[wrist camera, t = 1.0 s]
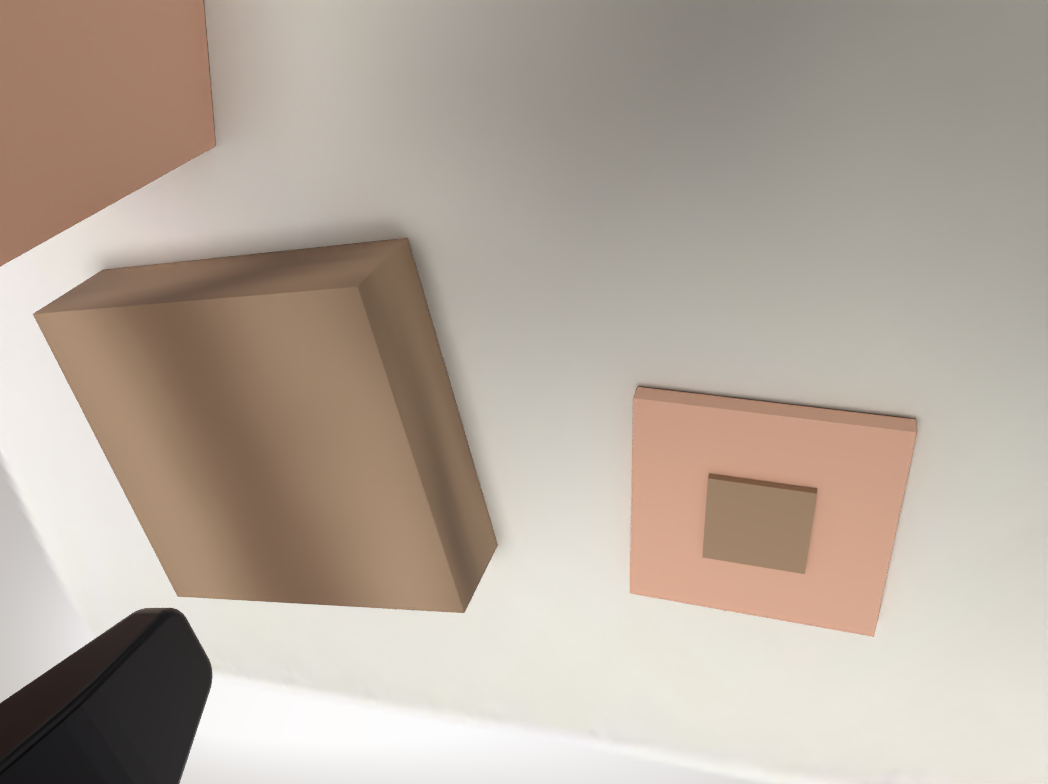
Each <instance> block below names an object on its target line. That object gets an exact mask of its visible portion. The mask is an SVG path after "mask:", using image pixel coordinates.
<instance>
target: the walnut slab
mask: <svg viewBox="0 0 1048 784" xmlns="http://www.w3.org/2000/svg"><path fill="white" fill-rule="evenodd" d="M33 315H34V317H35V319H36V321H37V323H38V325H39V327H40V329H41V331H42V333H43V335H44V337H45V339H46V341H47V343H48V345H49V346H50V348H51V350H52V352H53V354H54V356H55V358H56V360H57V362H58V364H59V366H60V368H61V370H62V372H63V374H64V376H65V378H66V380H67V382H68V384H69V385H70V387H71V389H72V391H73V393H74V395H75V397H76V399H77V401H78V403H79V405H80V407H81V409H82V411H83V413H84V415H85V417H86V419H87V421H88V423H89V424H90V426H91V428H92V430H93V432H94V434H95V436H96V438H97V440H98V442H99V444H100V446H101V448H102V450H103V452H104V454H105V456H106V458H107V460H108V462H109V464H110V465H111V467H112V469H113V471H114V473H115V475H116V477H117V479H118V481H119V483H120V485H121V487H122V489H123V491H124V493H125V495H126V497H127V499H128V501H129V503H130V504H131V506H132V508H133V510H134V512H135V514H136V516H137V518H138V520H139V522H140V524H141V526H142V528H143V530H144V532H145V534H146V536H147V538H148V540H149V542H150V543H151V545H152V547H153V549H154V551H155V553H156V555H157V557H158V559H159V561H160V563H161V565H162V567H163V569H164V571H165V573H166V575H167V577H168V579H169V581H170V582H171V584H172V586H173V588H174V590H175V592H176V594H177V596H179V597H196V598H213V599H231V600H248V601H266V602H283V603H300V604H318V605H335V606H353V607H370V608H387V609H405V610H422V611H439V612H457V613H465V611H466V608H467V606H468V604H469V602H470V600H471V598H472V596H473V594H474V592H475V590H476V588H477V586H478V584H479V582H480V580H481V578H482V576H483V574H484V572H485V570H486V568H487V566H488V564H489V562H490V560H491V558H492V556H493V554H494V552H495V550H496V548H497V546H498V545H497V541H496V538H495V534H494V531H493V528H492V524H491V521H490V517H489V514H488V510H487V507H486V504H485V500H484V497H483V493H482V490H481V487H480V483H479V480H478V476H477V473H476V470H475V466H474V463H473V459H472V456H471V452H470V449H469V446H468V442H467V439H466V435H465V432H464V429H463V425H462V422H461V418H460V415H459V412H458V408H457V405H456V401H455V398H454V395H453V391H452V388H451V384H450V381H449V377H448V374H447V371H446V367H445V364H444V360H443V357H442V354H441V350H440V347H439V343H438V340H437V337H436V333H435V330H434V326H433V323H432V319H431V316H430V313H429V309H428V306H427V302H426V299H425V296H424V292H423V289H422V285H421V282H420V279H419V275H418V272H417V268H416V265H415V261H414V258H413V255H412V251H411V248H410V244H409V241H408V238H401V239H392V240H382V241H373V242H363V243H354V244H344V245H335V246H325V247H316V248H306V249H297V250H287V251H278V252H268V253H259V254H249V255H240V256H230V257H221V258H211V259H202V260H192V261H183V262H173V263H164V264H154V265H145V266H135V267H126V268H116V269H107V270H102V271H100V272H99V273H97V274H95V275H94V276H92V277H91V278H89V279H88V280H86V281H84V282H83V283H81V284H80V285H78V286H77V287H75V288H73V289H72V290H70V291H69V292H67V293H65V294H64V295H62V296H61V297H59V298H58V299H56V300H54V301H53V302H51V303H50V304H48V305H46V306H45V307H43V308H42V309H40V310H39V311H37V312H35V313H34V314H33Z"/></svg>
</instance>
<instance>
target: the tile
mask: <svg viewBox="0 0 1048 784" xmlns="http://www.w3.org/2000/svg"><path fill="white" fill-rule="evenodd" d="M916 435H917V425H916V419H908V418H899V417H891V416H882V415H874V414H865V413H857V412H848V411H840V410H831V409H823V408H814V407H806V406H797V405H789V404H780V403H772V402H763V401H755V400H746V399H738V398H729V397H721V396H712V395H704V394H695V393H687V392H678V391H670V390H661V389H653V388H644V387H637V390H636V392H635V395H634V398H633V443H632V499H631V554H630V593H631V594H637V595H642V596H648V597H654V598H659V599H665V600H670V601H676V602H682V603H687V604H693V605H698V606H704V607H710V608H715V609H721V610H727V611H732V612H738V613H743V614H749V615H755V616H760V617H766V618H772V619H777V620H783V621H788V622H794V623H800V624H805V625H811V626H817V627H822V628H828V629H833V630H839V631H845V632H850V633H856V634H862V635H867V636H873V637H874V634H875V629H876V625H877V620H878V615H879V611H880V606H881V601H882V596H883V592H884V587H885V582H886V577H887V573H888V568H889V563H890V558H891V554H892V549H893V544H894V539H895V535H896V530H897V525H898V520H899V516H900V511H901V506H902V501H903V497H904V492H905V487H906V483H907V478H908V473H909V468H910V464H911V459H912V454H913V449H914V445H915V440H916Z"/></svg>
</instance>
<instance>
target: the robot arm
mask: <svg viewBox="0 0 1048 784" xmlns="http://www.w3.org/2000/svg"><path fill="white" fill-rule="evenodd" d="M211 684H212V667H211V663H210V661H209V658H208V657H207V655H206V653H205V651H204V649H203V648H202V646H201V644H200V642H199V640H198V638H197V637H196V635H195V633H194V631H193V629H192V628H191V626H190V624H189V622H188V620H187V619H186V617H185V616H184V614H183V613H181V612H180V611H179V610H177V609H174V608H145V609H140V610H138V611H135V612H134V613H132V614H131V615H129V616H128V617H126V618H125V619H123V620H122V621H120V622H119V623H117V624H116V625H114V626H113V627H112V628H110V629H109V630H107V631H106V632H104V633H103V634H101V635H100V636H98V637H97V638H95V639H94V640H92V641H91V642H89V643H88V644H87V645H85V646H84V647H82V648H81V649H79V650H78V651H77V652H75V653H73V654H72V655H70V656H69V657H67V658H66V659H65V660H63V661H62V662H60V663H59V664H57V665H56V666H54V667H53V668H51V669H50V670H48V671H47V672H46V673H44V674H43V675H41V676H40V677H38V678H37V679H35V680H34V681H32V682H31V683H29V684H28V685H26V686H25V687H23V688H22V689H21V690H19V691H18V692H16V693H15V694H13V695H12V696H10V697H9V698H7V699H6V700H4V701H3V702H1V703H0V784H179V783H180V780H181V777H182V774H183V771H184V768H185V765H186V761H187V759H188V756H189V753H190V749H191V746H192V743H193V740H194V737H195V734H196V731H197V728H198V725H199V722H200V719H201V716H202V713H203V710H204V707H205V704H206V701H207V698H208V694H209V692H210V688H211Z"/></svg>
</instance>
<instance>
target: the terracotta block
mask: <svg viewBox="0 0 1048 784" xmlns="http://www.w3.org/2000/svg"><path fill="white" fill-rule="evenodd" d="M215 146H216V143H215V131H214V119H213V107H212V95H211V83H210V71H209V59H208V47H207V35H206V23H205V10H204V0H0V266H2V265H4V264H5V263H7V262H9V261H11V260H13V259H14V258H16V257H18V256H20V255H22V254H23V253H25V252H27V251H29V250H30V249H32V248H34V247H36V246H38V245H39V244H41V243H43V242H45V241H47V240H48V239H50V238H52V237H54V236H55V235H57V234H59V233H61V232H63V231H64V230H66V229H68V228H70V227H72V226H73V225H75V224H77V223H79V222H81V221H82V220H84V219H86V218H88V217H89V216H91V215H93V214H95V213H97V212H98V211H100V210H102V209H104V208H106V207H107V206H109V205H111V204H113V203H115V202H116V201H118V200H120V199H122V198H123V197H125V196H127V195H129V194H131V193H132V192H134V191H136V190H138V189H140V188H141V187H143V186H145V185H147V184H148V183H150V182H152V181H154V180H156V179H157V178H159V177H161V176H163V175H165V174H166V173H168V172H170V171H172V170H174V169H175V168H177V167H179V166H181V165H182V164H184V163H186V162H188V161H190V160H191V159H193V158H195V157H197V156H199V155H200V154H202V153H204V152H206V151H208V150H209V149H211V148H213V147H215Z"/></svg>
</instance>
